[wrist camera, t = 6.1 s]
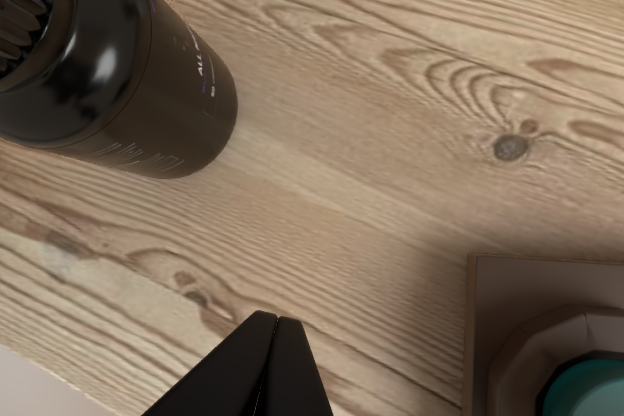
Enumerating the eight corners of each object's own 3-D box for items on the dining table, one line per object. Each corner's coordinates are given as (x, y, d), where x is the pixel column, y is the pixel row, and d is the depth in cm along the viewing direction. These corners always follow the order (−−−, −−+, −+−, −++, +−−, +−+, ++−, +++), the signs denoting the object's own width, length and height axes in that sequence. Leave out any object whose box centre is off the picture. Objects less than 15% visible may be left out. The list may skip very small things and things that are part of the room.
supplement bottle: (267, 77, 21) (105, -117, 9) (199, 206, 22) (-42, 173, 10) (151, 19, 23) (-119, -216, 11) (88, 140, 23) (-242, 42, 11)
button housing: (677, 530, 17) (760, 619, 13) (457, 495, 19) (473, 565, 15) (682, 265, 18) (764, 275, 14) (467, 252, 19) (485, 257, 15)
